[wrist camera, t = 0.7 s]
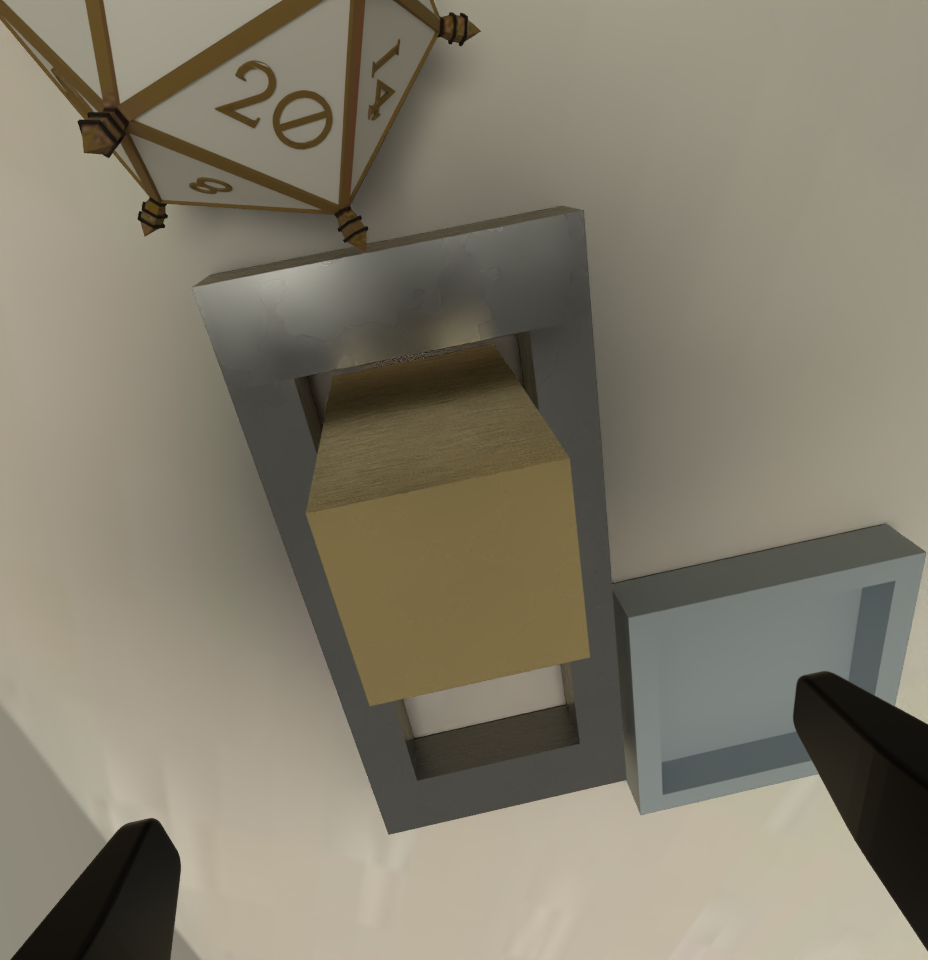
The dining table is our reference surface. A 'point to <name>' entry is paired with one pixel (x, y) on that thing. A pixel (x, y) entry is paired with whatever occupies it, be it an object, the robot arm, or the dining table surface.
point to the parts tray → (753, 658)
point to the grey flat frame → (295, 442)
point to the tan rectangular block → (446, 526)
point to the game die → (236, 92)
